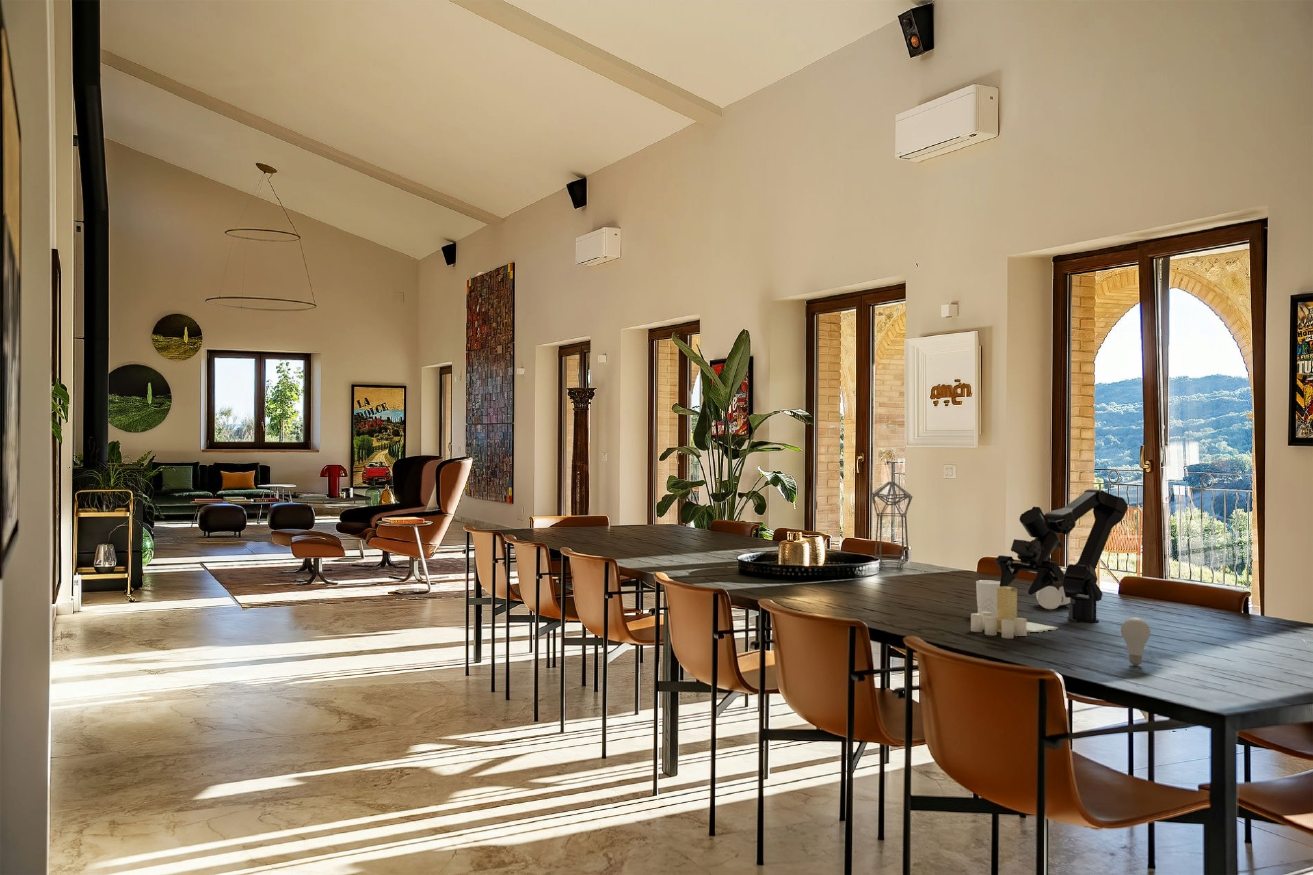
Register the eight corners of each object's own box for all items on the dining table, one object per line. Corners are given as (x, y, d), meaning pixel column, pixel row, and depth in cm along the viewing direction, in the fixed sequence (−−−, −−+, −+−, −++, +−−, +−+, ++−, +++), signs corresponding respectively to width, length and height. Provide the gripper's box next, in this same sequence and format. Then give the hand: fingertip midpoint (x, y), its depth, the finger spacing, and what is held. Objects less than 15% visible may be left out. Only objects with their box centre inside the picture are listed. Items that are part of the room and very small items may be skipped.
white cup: (1006, 619, 290) (1006, 584, 290) (977, 617, 291) (977, 583, 291) (1002, 614, 298) (1002, 580, 298) (974, 613, 299) (974, 579, 299)
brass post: (1005, 630, 273) (1005, 585, 273) (1016, 632, 270) (1017, 587, 270) (996, 631, 271) (997, 586, 271) (1008, 633, 268) (1008, 588, 268)
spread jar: (1064, 604, 317) (1064, 567, 317) (1080, 610, 306) (1081, 572, 306) (1026, 604, 316) (1027, 567, 317) (1041, 610, 305) (1041, 571, 305)
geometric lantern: (910, 567, 407) (910, 480, 407) (912, 572, 391) (912, 482, 391) (870, 566, 410) (870, 480, 410) (871, 571, 394) (871, 481, 394)
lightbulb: (1115, 662, 233) (1115, 615, 233) (1140, 662, 233) (1140, 615, 233) (1130, 668, 227) (1130, 620, 227) (1155, 668, 227) (1156, 619, 227)
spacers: (985, 627, 276) (985, 611, 276) (1028, 636, 264) (1028, 619, 264) (965, 630, 272) (965, 613, 272) (1008, 639, 260) (1008, 621, 260)
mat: (1026, 623, 282) (1026, 621, 282) (1057, 629, 274) (1057, 627, 274) (1003, 627, 277) (1003, 624, 277) (1033, 633, 269) (1033, 630, 269)
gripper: (999, 526, 283) (972, 567, 277) (1057, 531, 267) (1030, 575, 261) (1017, 553, 287) (991, 594, 281) (1076, 559, 271) (1049, 603, 265)
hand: (1014, 591), depth 272 cm, fingers open, 9 cm apart
